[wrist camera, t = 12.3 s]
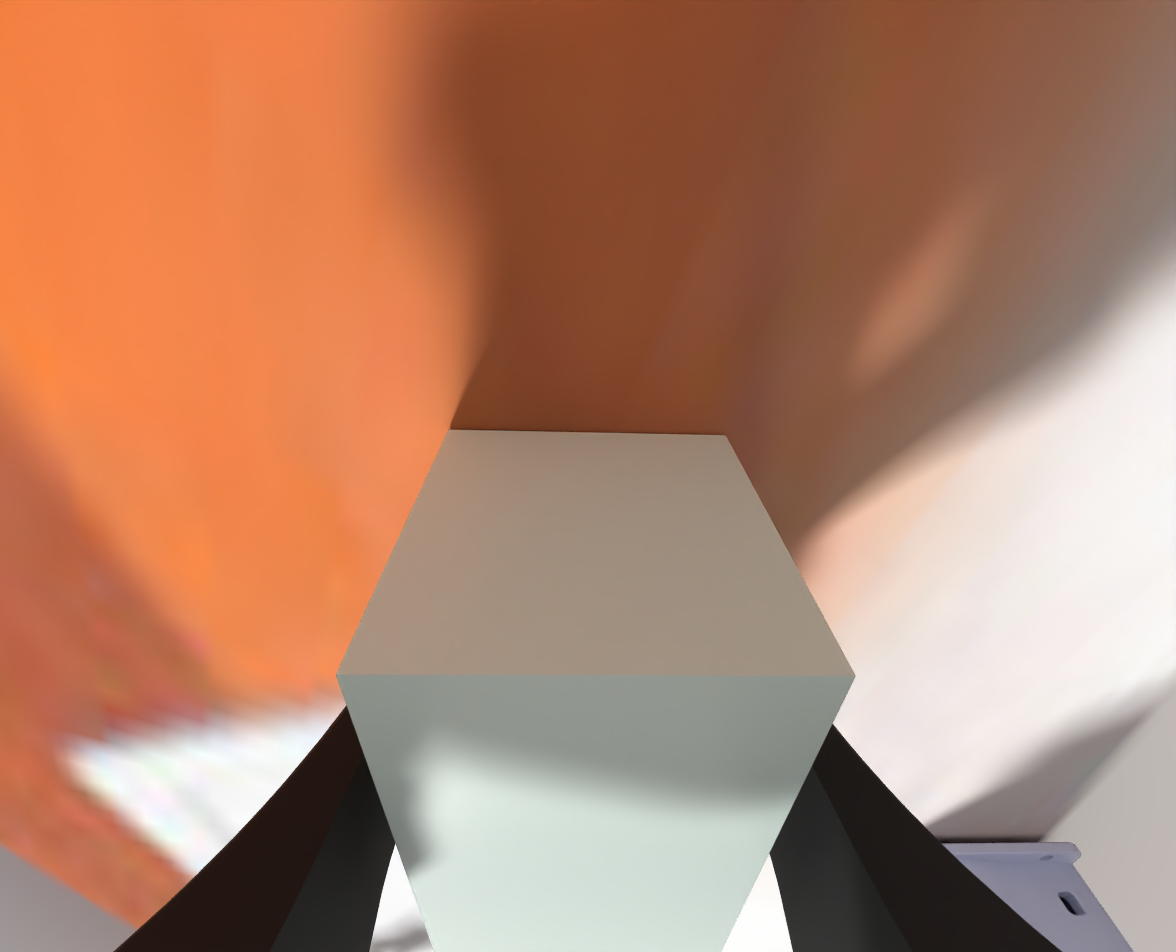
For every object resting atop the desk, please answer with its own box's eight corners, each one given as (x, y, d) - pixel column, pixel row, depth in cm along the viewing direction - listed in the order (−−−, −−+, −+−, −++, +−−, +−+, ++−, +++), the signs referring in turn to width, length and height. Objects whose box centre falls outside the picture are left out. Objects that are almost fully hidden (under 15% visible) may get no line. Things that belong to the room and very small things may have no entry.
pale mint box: (725, 435, 11) (855, 675, 6) (670, 711, 16) (714, 965, 11) (448, 429, 11) (335, 675, 6) (482, 711, 16) (440, 970, 11)
